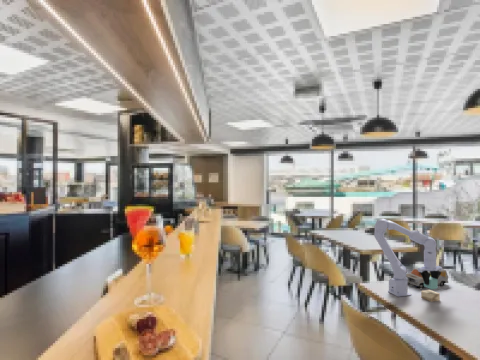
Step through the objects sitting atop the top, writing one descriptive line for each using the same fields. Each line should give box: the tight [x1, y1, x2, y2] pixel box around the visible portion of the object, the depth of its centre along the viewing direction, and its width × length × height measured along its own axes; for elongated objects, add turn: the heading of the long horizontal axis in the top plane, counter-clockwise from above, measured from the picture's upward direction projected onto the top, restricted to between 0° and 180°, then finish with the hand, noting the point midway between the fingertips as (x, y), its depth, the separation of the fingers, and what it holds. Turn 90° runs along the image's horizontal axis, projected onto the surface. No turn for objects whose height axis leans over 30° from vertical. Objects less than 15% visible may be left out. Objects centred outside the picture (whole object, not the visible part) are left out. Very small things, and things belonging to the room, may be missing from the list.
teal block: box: [424, 277, 439, 290], centre depth 158 cm, size 4×4×5 cm
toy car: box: [406, 267, 449, 289], centre depth 181 cm, size 11×25×10 cm, turn 105°
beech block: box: [420, 289, 441, 303], centre depth 158 cm, size 6×6×4 cm
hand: (430, 284), depth 158 cm, fingers closed on teal block, 4 cm apart
